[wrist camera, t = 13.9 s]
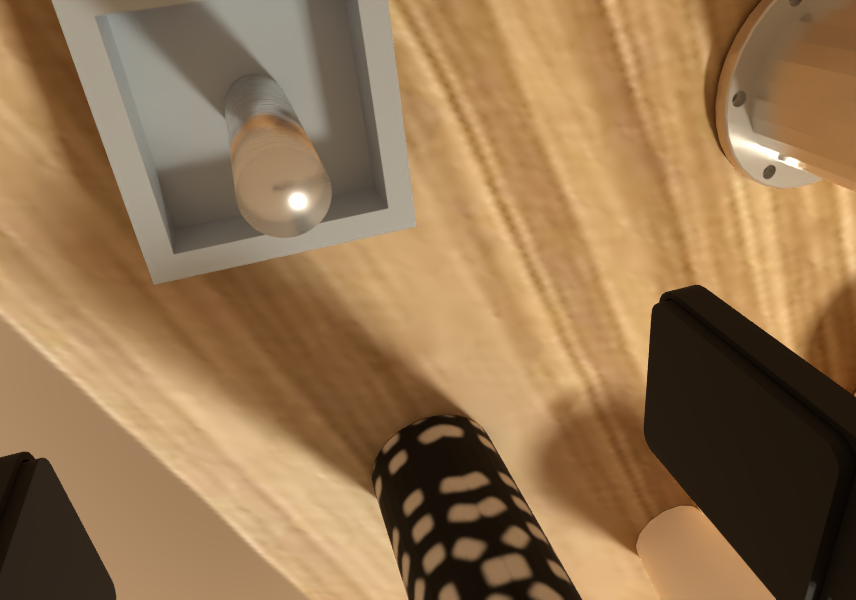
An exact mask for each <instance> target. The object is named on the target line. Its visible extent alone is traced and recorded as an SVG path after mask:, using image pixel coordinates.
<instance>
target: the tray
mask: <svg viewBox="0 0 856 600" xmlns="http://www.w3.org/2000/svg"><path fill="white" fill-rule="evenodd" d="M52 3H53V6H54V9H55V11H56V14H57V17H58V20H59V23H60V25H61V28H62V31H63V34H64V36H65V39H66V42H67V45H68V48H69V50H70V53H71V56H72V59H73V62H74V64H75V67H76V70H77V73H78V75H79V78H80V81H81V84H82V87H83V89H84V92H85V95H86V98H87V101H88V103H89V106H90V109H91V112H92V114H93V117H94V120H95V123H96V126H97V128H98V131H99V134H100V137H101V140H102V142H103V145H104V148H105V151H106V154H107V156H108V159H109V162H110V165H111V167H112V170H113V173H114V176H115V179H116V181H117V184H118V187H119V190H120V193H121V195H122V198H123V201H124V204H125V206H126V209H127V212H128V215H129V218H130V220H131V223H132V226H133V229H134V232H135V234H136V237H137V240H138V243H139V245H140V248H141V251H142V254H143V257H144V259H145V262H146V265H147V268H148V271H149V273H150V276H151V279H152V282H153V285H156V284H161V283H165V282H170V281H174V280H179V279H183V278H188V277H192V276H197V275H201V274H206V273H210V272H215V271H219V270H224V269H228V268H233V267H238V266H242V265H247V264H251V263H256V262H260V261H265V260H269V259H274V258H278V257H283V256H287V255H292V254H296V253H301V252H305V251H310V250H314V249H319V248H323V247H328V246H332V245H337V244H341V243H346V242H350V241H355V240H359V239H364V238H368V237H373V236H377V235H382V234H386V233H391V232H395V231H400V230H404V229H409V228H413V227H417V226H416V218H415V210H414V202H413V194H412V187H411V179H410V171H409V163H408V155H407V147H406V139H405V131H404V123H403V115H402V108H401V100H400V92H399V84H398V76H397V68H396V60H395V52H394V44H393V37H392V29H391V21H390V13H389V5H388V0H52ZM249 74H260V75H264V76H267V77H269V78H271V79H273V80H274V81H276V82H277V83H278V84H279V85H280V86H281V88H282V89H283V90H284V92H285V94H286V96H287V98H288V100H289V102H290V103H291V105H292V107H293V109H294V111H295V113H296V115H297V117H298V119H299V121H300V122H301V124H302V126H303V128H304V130H305V132H306V134H307V136H308V138H309V140H310V142H311V143H312V145H313V147H314V149H315V151H316V153H317V155H318V157H319V159H320V161H321V163H322V164H323V166H324V168H325V170H326V172H327V174H328V176H329V179H330V183H331V189H332V197H331V203H330V206H329V209H328V211H327V213H326V215H325V217H324V218H323V219H322V221H321V222H320V223H319V224H318V225H317V226H316V227H314V228H313V229H312V230H310V231H308V232H307V233H304V234H302V235H299V236H296V237H290V238H277V237H272V236H268V235H265V234H263V233H261V232H259V231H257V230H256V229H254V228H253V227H252V226H251V225H250V224H249V223H248V222H247V221H246V220H245V219H244V217H243V216H242V214H241V212H240V210H239V208H238V205H237V201H236V194H235V187H234V179H233V171H232V164H231V156H230V149H229V141H228V133H227V126H226V118H225V110H224V99H225V95H226V92H227V90H228V88H229V87H230V85H231V84H232V83H233V82H234V81H235V80H237V79H238V78H240V77H242V76H245V75H249Z"/></svg>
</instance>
